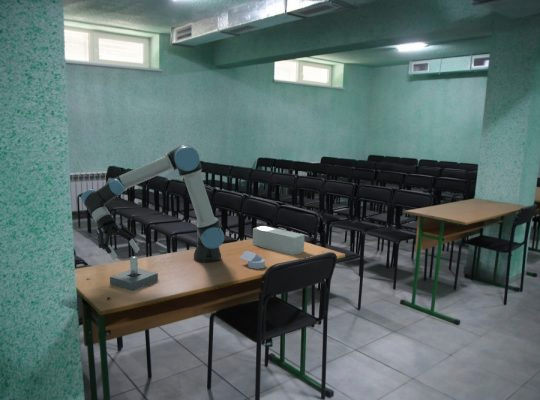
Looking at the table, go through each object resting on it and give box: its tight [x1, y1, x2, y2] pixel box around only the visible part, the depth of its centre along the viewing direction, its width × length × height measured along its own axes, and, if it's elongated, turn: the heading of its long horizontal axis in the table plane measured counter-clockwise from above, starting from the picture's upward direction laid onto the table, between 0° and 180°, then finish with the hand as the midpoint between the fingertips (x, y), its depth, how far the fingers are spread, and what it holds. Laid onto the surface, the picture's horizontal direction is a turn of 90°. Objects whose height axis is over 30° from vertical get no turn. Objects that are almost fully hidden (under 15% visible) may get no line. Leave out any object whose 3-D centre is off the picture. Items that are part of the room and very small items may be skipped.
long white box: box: [251, 225, 306, 256], centre depth 267 cm, size 32×11×11 cm, turn 51°
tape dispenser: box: [239, 250, 266, 270], centre depth 232 cm, size 9×7×13 cm
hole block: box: [109, 267, 159, 291], centre depth 201 cm, size 16×14×4 cm
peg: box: [129, 255, 139, 277], centre depth 200 cm, size 3×3×12 cm
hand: (127, 254), depth 200 cm, fingers open, 13 cm apart
